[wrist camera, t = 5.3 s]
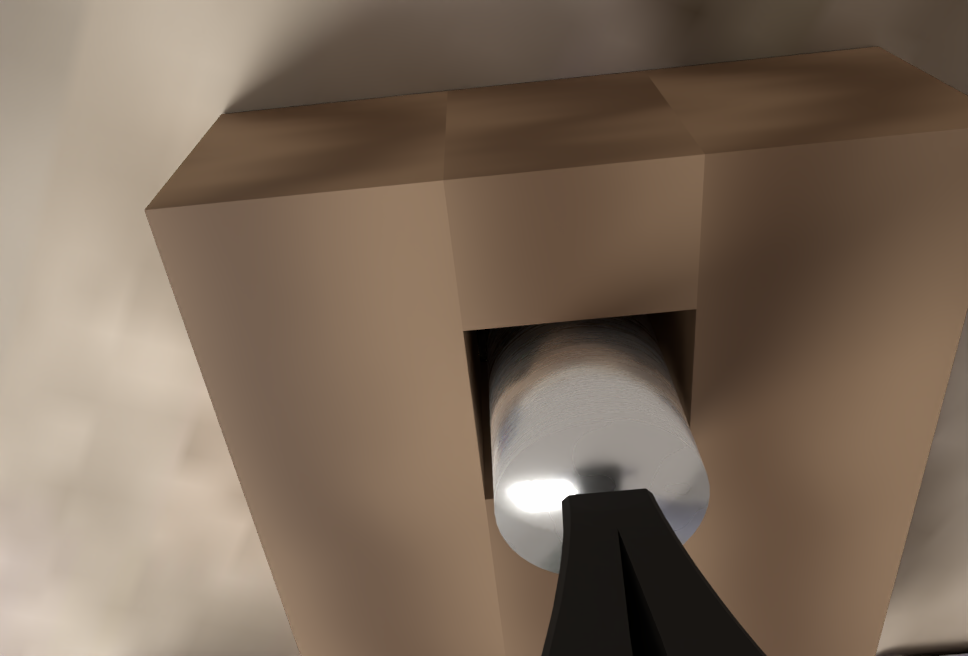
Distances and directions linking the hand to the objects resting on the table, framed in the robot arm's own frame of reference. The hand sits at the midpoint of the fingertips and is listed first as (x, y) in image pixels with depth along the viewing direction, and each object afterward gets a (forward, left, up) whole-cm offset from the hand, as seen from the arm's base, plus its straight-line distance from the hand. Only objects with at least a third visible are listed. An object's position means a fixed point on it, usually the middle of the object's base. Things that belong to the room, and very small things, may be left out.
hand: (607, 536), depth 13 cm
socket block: (0, +5, -8) cm, 10 cm away
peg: (0, 0, -5) cm, 5 cm away
